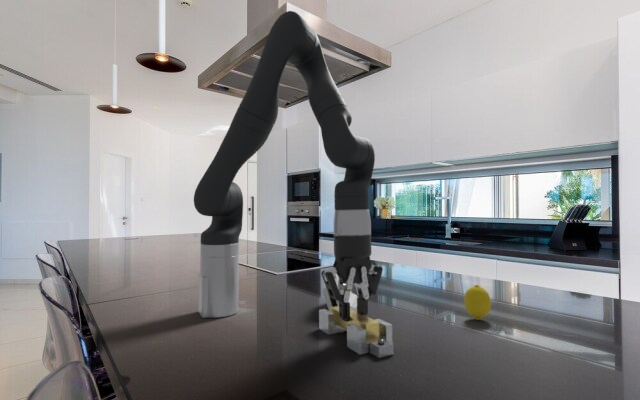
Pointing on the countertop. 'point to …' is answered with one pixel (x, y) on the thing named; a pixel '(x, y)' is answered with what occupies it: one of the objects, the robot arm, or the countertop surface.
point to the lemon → (477, 302)
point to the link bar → (358, 323)
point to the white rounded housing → (333, 302)
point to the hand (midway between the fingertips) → (353, 318)
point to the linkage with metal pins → (360, 335)
